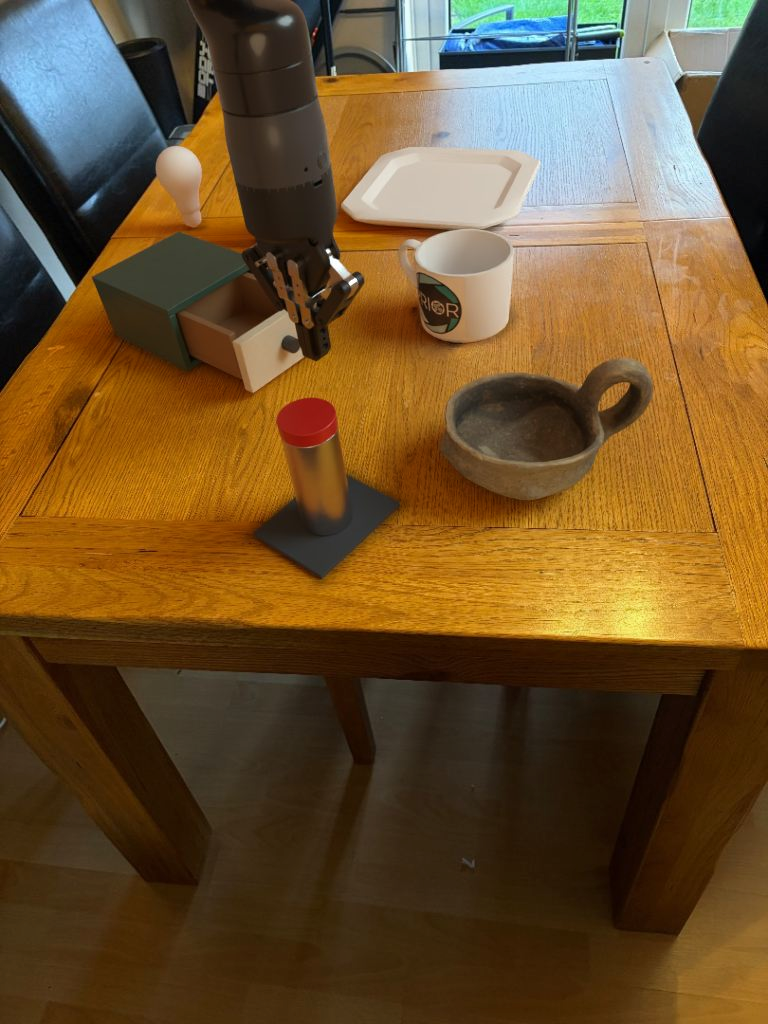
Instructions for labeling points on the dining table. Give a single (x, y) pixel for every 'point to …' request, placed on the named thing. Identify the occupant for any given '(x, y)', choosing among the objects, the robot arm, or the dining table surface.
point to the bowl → (538, 427)
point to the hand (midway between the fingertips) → (317, 354)
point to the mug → (461, 283)
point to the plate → (443, 188)
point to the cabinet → (164, 291)
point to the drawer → (241, 332)
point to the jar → (316, 464)
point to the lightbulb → (181, 181)
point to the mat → (329, 550)
